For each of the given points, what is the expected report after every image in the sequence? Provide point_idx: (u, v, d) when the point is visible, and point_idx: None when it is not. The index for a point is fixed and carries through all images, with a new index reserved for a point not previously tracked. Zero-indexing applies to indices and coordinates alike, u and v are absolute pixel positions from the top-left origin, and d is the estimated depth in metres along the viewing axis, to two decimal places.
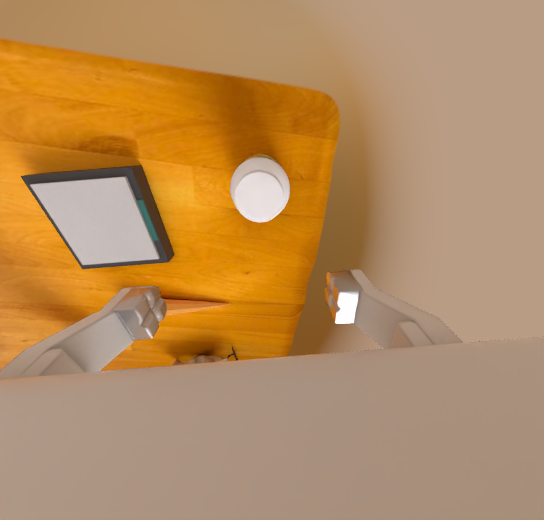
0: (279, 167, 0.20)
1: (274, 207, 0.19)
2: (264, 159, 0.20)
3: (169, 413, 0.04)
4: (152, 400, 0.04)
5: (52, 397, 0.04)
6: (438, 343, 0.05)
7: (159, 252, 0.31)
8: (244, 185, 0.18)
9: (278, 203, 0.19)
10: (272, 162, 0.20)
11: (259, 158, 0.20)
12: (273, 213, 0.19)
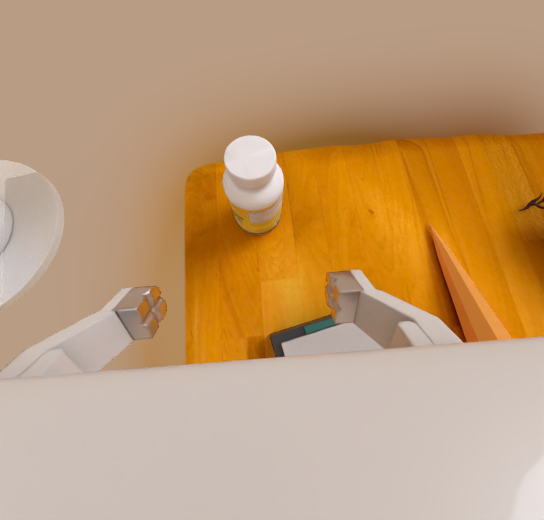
0: None
1: (255, 141, 0.18)
2: (223, 180, 0.21)
3: (169, 413, 0.04)
4: (152, 400, 0.04)
5: (52, 397, 0.04)
6: (438, 343, 0.05)
7: None
8: (239, 171, 0.17)
9: (250, 139, 0.18)
10: (224, 173, 0.21)
11: (223, 185, 0.21)
12: (262, 141, 0.18)
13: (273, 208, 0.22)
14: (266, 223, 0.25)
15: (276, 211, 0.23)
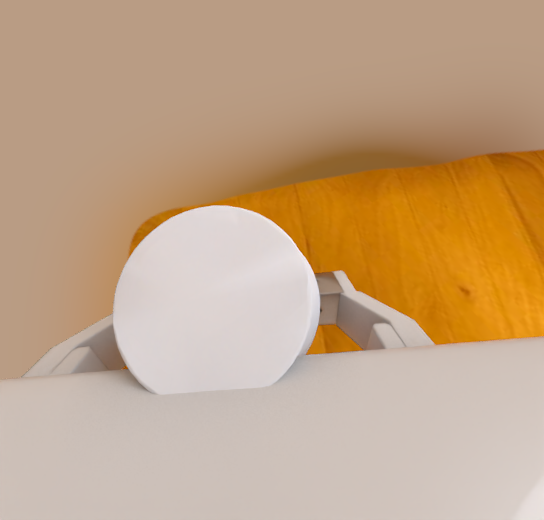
0: None
1: (234, 230, 0.05)
2: None
3: (169, 413, 0.04)
4: (152, 400, 0.04)
5: (52, 396, 0.04)
6: (410, 345, 0.05)
7: None
8: (167, 367, 0.04)
9: (215, 220, 0.05)
10: None
11: None
12: (258, 228, 0.05)
13: None
14: None
15: None
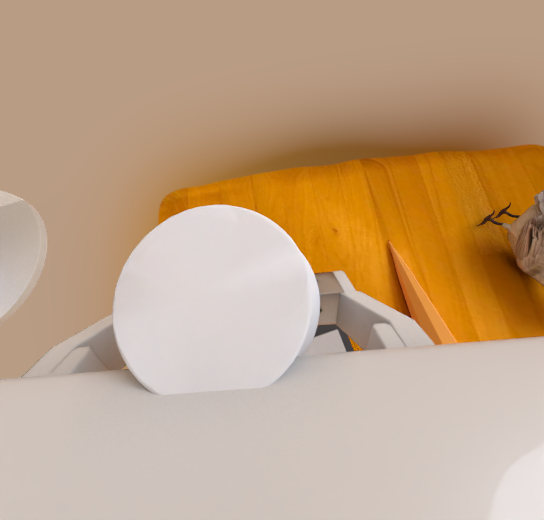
0: None
1: (234, 229, 0.05)
2: None
3: (169, 413, 0.04)
4: (152, 400, 0.04)
5: (52, 397, 0.04)
6: (410, 345, 0.05)
7: (328, 329, 0.24)
8: (167, 366, 0.04)
9: (215, 219, 0.05)
10: None
11: None
12: (258, 227, 0.05)
13: None
14: None
15: None
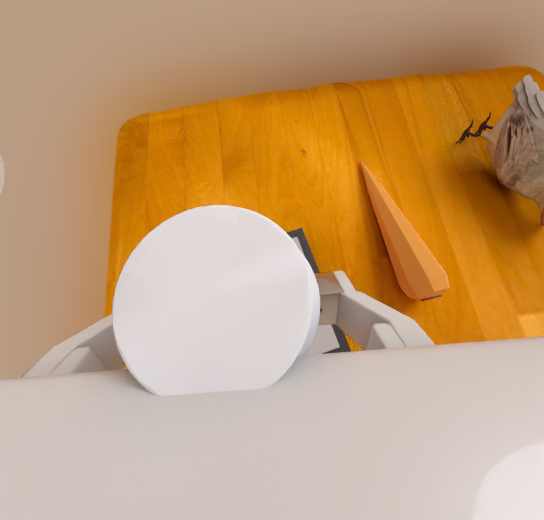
0: None
1: (234, 230, 0.05)
2: None
3: (169, 413, 0.04)
4: (152, 400, 0.04)
5: (52, 396, 0.04)
6: (410, 345, 0.05)
7: None
8: (167, 367, 0.04)
9: (215, 220, 0.05)
10: None
11: None
12: (258, 228, 0.05)
13: None
14: None
15: None
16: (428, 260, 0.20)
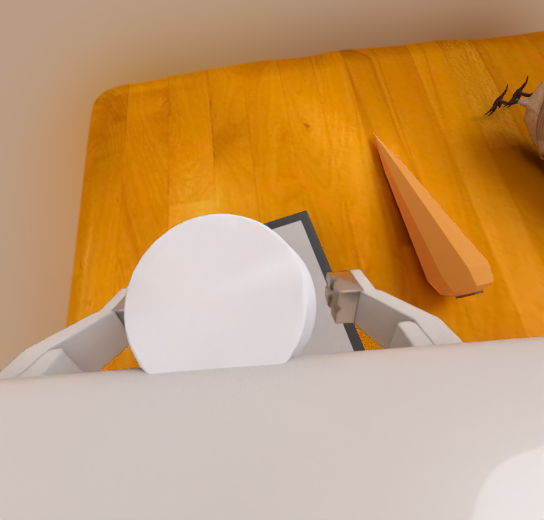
0: None
1: (235, 237, 0.05)
2: None
3: (169, 413, 0.04)
4: (152, 400, 0.04)
5: (52, 397, 0.04)
6: (438, 343, 0.05)
7: (290, 223, 0.18)
8: (174, 363, 0.05)
9: (218, 227, 0.05)
10: None
11: None
12: (257, 235, 0.05)
13: None
14: None
15: None
16: (466, 247, 0.16)
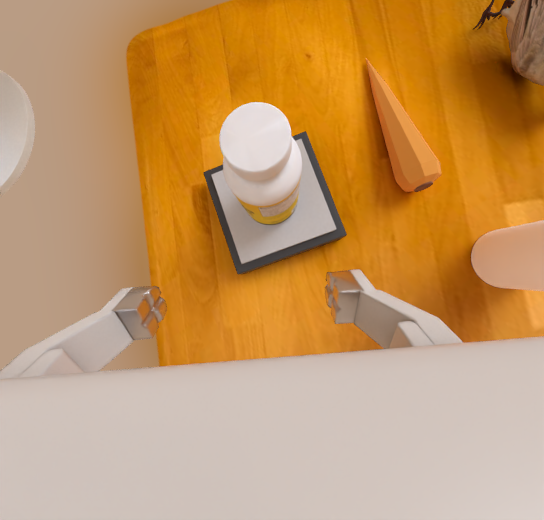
0: None
1: (261, 111, 0.13)
2: (223, 168, 0.16)
3: (169, 413, 0.04)
4: (152, 400, 0.04)
5: (52, 396, 0.04)
6: (438, 343, 0.05)
7: None
8: (242, 160, 0.13)
9: (253, 108, 0.13)
10: None
11: (224, 175, 0.16)
12: (270, 110, 0.13)
13: (290, 199, 0.17)
14: (281, 215, 0.20)
15: (293, 200, 0.19)
16: (422, 149, 0.22)
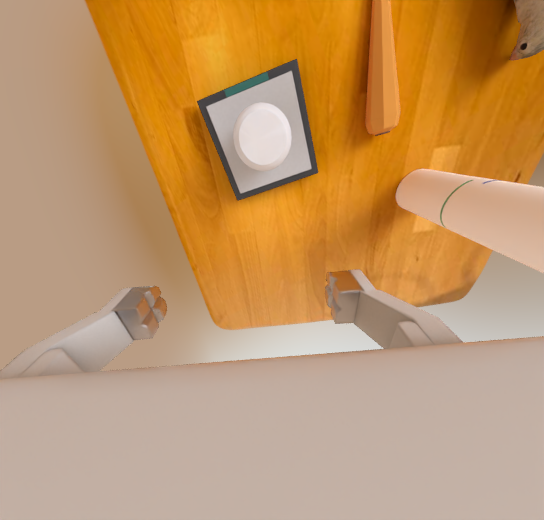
0: (236, 123, 0.21)
1: (267, 118, 0.18)
2: (234, 141, 0.22)
3: (169, 413, 0.04)
4: (152, 400, 0.04)
5: (52, 396, 0.04)
6: (438, 343, 0.05)
7: (283, 72, 0.26)
8: (254, 156, 0.20)
9: (261, 115, 0.18)
10: (234, 132, 0.21)
11: (235, 147, 0.22)
12: (273, 118, 0.18)
13: None
14: None
15: None
16: (390, 100, 0.26)
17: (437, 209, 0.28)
